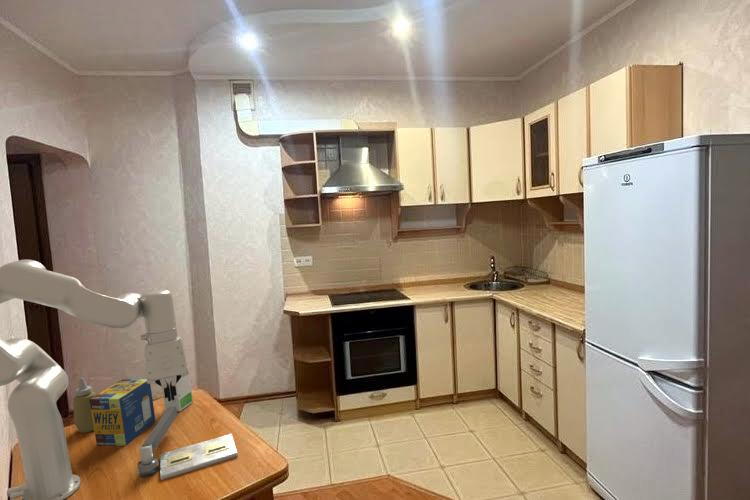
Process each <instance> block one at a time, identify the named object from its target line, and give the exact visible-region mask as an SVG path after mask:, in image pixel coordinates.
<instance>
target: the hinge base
mask: <svg viewBox="0 0 750 500" xmlns="http://www.w3.org/2000/svg"><path fill="white" fill-rule="evenodd" d="M153 459H154V460H153V461H152V462H151V463H149V464H145V465H143V464H142V463H141V460H140V461H139V462H138V463H137V471H138V476H139V477H140V478H142V479H143V478H144V479H146V478H149V477H152V476H154V475H156V474H157V473H158V472H159V470H160V465H159V458H158V457H157V456H153Z"/></svg>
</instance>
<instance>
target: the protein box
mask: <svg viewBox="0 0 750 500" xmlns="http://www.w3.org/2000/svg"><path fill="white" fill-rule="evenodd" d="M89 401H90V407H91V413H92V419H93V425H94V430H93V431H94V436H95V441H96V442H95V443H96V446H117V447H118V446H119V447H121V446H123V447H124V446H127V445H128V444H130V443H131V442H133V440H135V439H136V438H137V437H138V436H140V435H141V434H142V433H143V432H144V431H146V430H147V429H148V428H149V427H151V426H152V425H153V424H155V423H156V415H155V407H154V402H153V401H154V400H153V394H152V386H151V384H148V383H147V378H146V379H145V378H143V379H142V378H140V379H139V378H138V379H136V378H135V379H134V378H133V379H131V378H129V379H128V378H122V379H120V380H119V381H118V382H116V383H114V384H113V385H111V386H109V387H108V388H106V389H104V390H102V391H101V392H99V393H96V396H94V397H92V398H91V399H89Z"/></svg>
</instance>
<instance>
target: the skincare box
mask: <svg viewBox="0 0 750 500" xmlns="http://www.w3.org/2000/svg"><path fill="white" fill-rule="evenodd" d="M186 362H187V369H188V371H189V372H190V369H189V364H188V363H189V362H188V361H186ZM190 378H191V377H190V373H189V374H188V375H186V376H184V377H182V378H180V380H179V381H178V382H177V383H176V385H175V386H176V393H177V395H176V396H174V400H173V401H172V399H171V401H169V402H168V398H165V395H164V388H162V387H161V389H162V395H163V397H162V398H163V403H164V412H165V411H166V410H167V409H168V407H175V406H176V410H177V413H178V412H182V411H183V410H185V409H186V408H187V407H188V406H190V405H191V404H192V403H193V402H194V399H193V390H192V385H191V384H192V383H191V379H190ZM166 381H167V383H168V385H169V387H170V382H171V377H169V378H166ZM170 394H171V392H170Z"/></svg>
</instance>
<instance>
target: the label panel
mask: <svg viewBox="0 0 750 500" xmlns="http://www.w3.org/2000/svg"><path fill="white" fill-rule="evenodd" d="M237 457H239V456H238V449H237V447H236V444H235V440H234V437H233V434H232V433H228V434H225V435H223V436H218V437H215V438H211V439H209V440H204V441H200V442H198V443H194V444H191V445H186V446H184V447H180V448H177V449H173V450H171V451H167V452H163V453H160V472H159V473H160V480H161V481H162V480H163V481H164V480H165V479H168V478H172V477H173V478H174V477H176V476H179V475H182V474H185V473H188V472H191V471H195V470H198V469H201V468H205V467H208V466H211V465H214V464H218V463H221V462H224V461H227V460H230V459H234V458H237Z"/></svg>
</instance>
